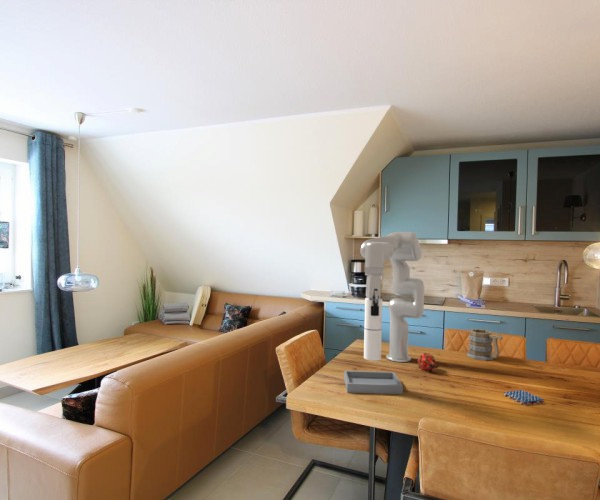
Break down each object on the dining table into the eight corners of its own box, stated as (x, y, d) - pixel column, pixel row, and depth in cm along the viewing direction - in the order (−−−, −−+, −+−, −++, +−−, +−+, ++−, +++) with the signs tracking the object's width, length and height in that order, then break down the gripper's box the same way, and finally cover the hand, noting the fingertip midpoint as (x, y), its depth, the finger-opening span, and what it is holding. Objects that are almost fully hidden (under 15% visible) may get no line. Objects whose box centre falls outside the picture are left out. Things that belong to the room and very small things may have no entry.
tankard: (462, 354, 211) (463, 327, 211) (481, 352, 215) (481, 326, 215) (490, 365, 192) (491, 335, 192) (510, 363, 196) (511, 334, 196)
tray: (344, 378, 170) (344, 370, 170) (394, 379, 169) (394, 372, 169) (347, 392, 154) (347, 383, 154) (402, 394, 153) (402, 385, 153)
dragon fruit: (423, 368, 190) (432, 380, 179) (410, 359, 189) (419, 370, 177) (434, 355, 190) (444, 367, 178) (421, 346, 188) (431, 356, 177)
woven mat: (524, 407, 144) (524, 402, 144) (502, 396, 154) (502, 391, 154) (546, 404, 147) (546, 399, 147) (522, 394, 157) (523, 389, 157)
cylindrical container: (361, 358, 160) (362, 299, 159) (366, 354, 166) (368, 297, 166) (378, 361, 156) (379, 300, 156) (383, 357, 163) (384, 298, 162)
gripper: (362, 270, 169) (361, 310, 170) (368, 273, 152) (367, 317, 152) (379, 270, 169) (378, 310, 169) (387, 273, 152) (386, 318, 152)
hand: (373, 313), depth 161 cm, fingers closed on cylindrical container, 7 cm apart
